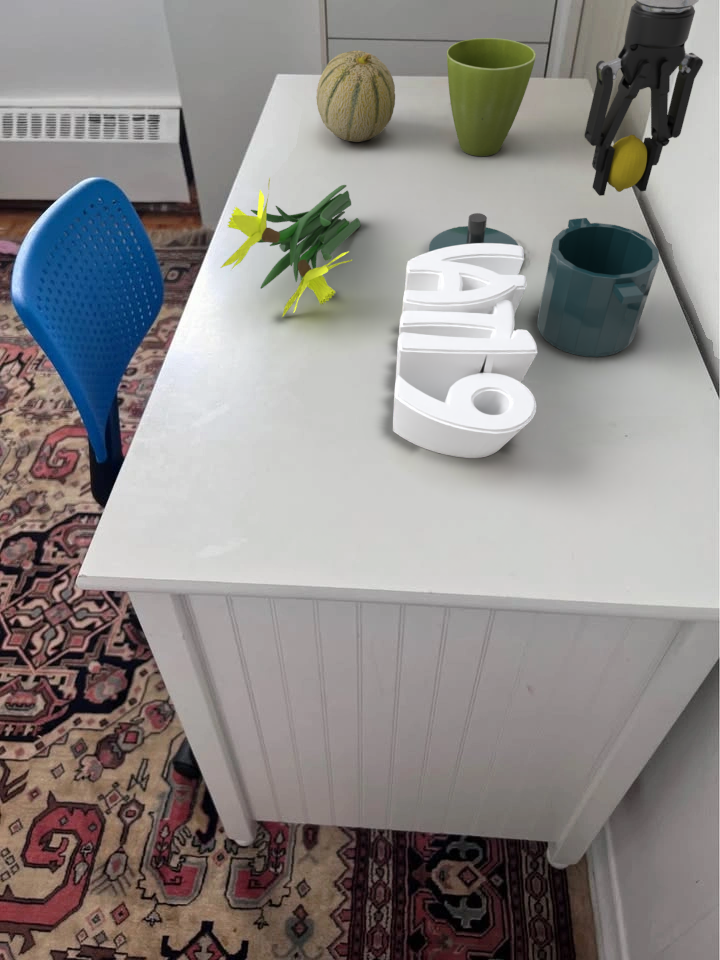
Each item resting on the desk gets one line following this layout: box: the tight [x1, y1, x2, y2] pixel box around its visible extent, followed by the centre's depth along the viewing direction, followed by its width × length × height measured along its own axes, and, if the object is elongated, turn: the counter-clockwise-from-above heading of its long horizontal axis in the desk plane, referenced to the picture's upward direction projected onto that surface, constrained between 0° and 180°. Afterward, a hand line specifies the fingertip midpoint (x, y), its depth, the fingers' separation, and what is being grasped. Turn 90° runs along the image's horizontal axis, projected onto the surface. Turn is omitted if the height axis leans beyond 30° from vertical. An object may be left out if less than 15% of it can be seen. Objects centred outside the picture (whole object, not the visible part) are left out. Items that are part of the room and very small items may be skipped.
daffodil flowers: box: [220, 177, 362, 318], centre depth 100 cm, size 17×15×35 cm
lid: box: [428, 212, 520, 252], centre depth 106 cm, size 14×14×6 cm
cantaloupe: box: [315, 50, 396, 143], centre depth 132 cm, size 15×15×15 cm
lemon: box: [607, 134, 647, 193], centre depth 102 cm, size 6×6×8 cm
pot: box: [536, 217, 660, 358], centre depth 92 cm, size 13×18×12 cm
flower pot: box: [446, 37, 537, 157], centre depth 127 cm, size 15×15×16 cm
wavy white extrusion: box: [392, 243, 538, 459], centre depth 86 cm, size 35×16×11 cm, turn 171°
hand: (618, 188), depth 105 cm, fingers closed on lemon, 5 cm apart
